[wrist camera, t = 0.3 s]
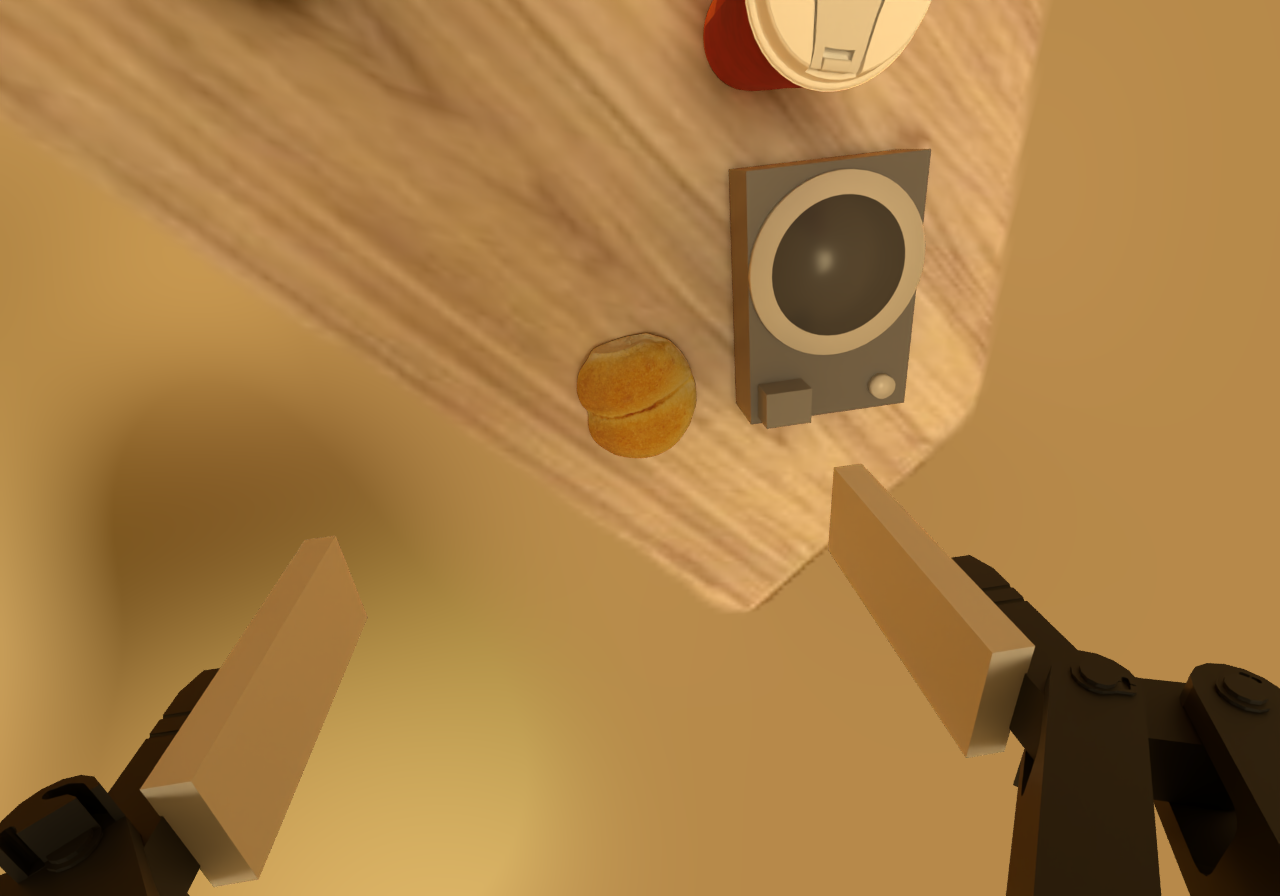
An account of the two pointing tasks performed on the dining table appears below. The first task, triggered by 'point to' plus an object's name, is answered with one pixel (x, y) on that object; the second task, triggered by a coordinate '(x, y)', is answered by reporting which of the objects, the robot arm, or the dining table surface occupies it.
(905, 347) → the block
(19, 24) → the dining table surface
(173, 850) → the robot arm
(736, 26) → the paper cup
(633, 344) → the bread roll
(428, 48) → the dining table surface
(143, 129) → the dining table surface
